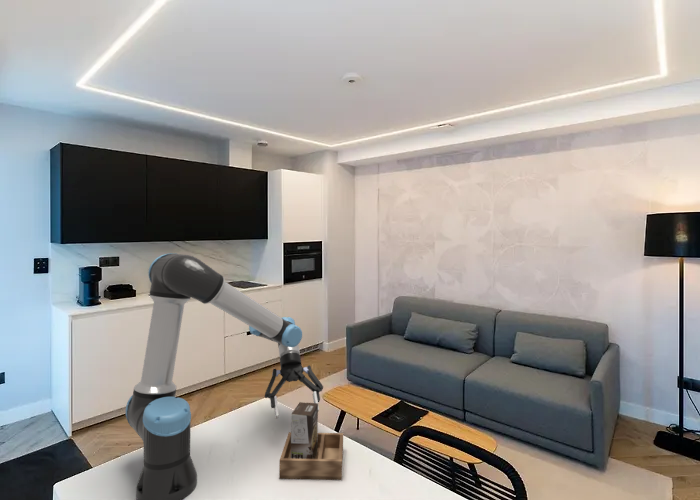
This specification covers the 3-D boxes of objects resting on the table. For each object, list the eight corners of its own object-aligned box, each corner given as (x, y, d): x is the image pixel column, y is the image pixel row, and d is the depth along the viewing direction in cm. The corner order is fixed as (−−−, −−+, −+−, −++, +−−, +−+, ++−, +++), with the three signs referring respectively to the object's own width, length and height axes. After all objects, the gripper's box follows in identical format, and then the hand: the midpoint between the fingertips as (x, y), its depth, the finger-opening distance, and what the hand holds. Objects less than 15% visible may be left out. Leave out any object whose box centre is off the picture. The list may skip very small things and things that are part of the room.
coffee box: (310, 469, 113) (311, 415, 113) (289, 466, 115) (290, 413, 114) (318, 452, 122) (318, 402, 122) (298, 450, 124) (299, 401, 123)
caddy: (279, 478, 110) (279, 460, 110) (288, 448, 126) (288, 432, 126) (341, 480, 110) (341, 461, 110) (343, 449, 126) (343, 433, 126)
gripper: (320, 358, 148) (331, 413, 134) (254, 364, 140) (258, 423, 126) (324, 348, 143) (335, 404, 129) (256, 354, 135) (260, 415, 121)
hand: (297, 414), depth 128 cm, fingers open, 13 cm apart
